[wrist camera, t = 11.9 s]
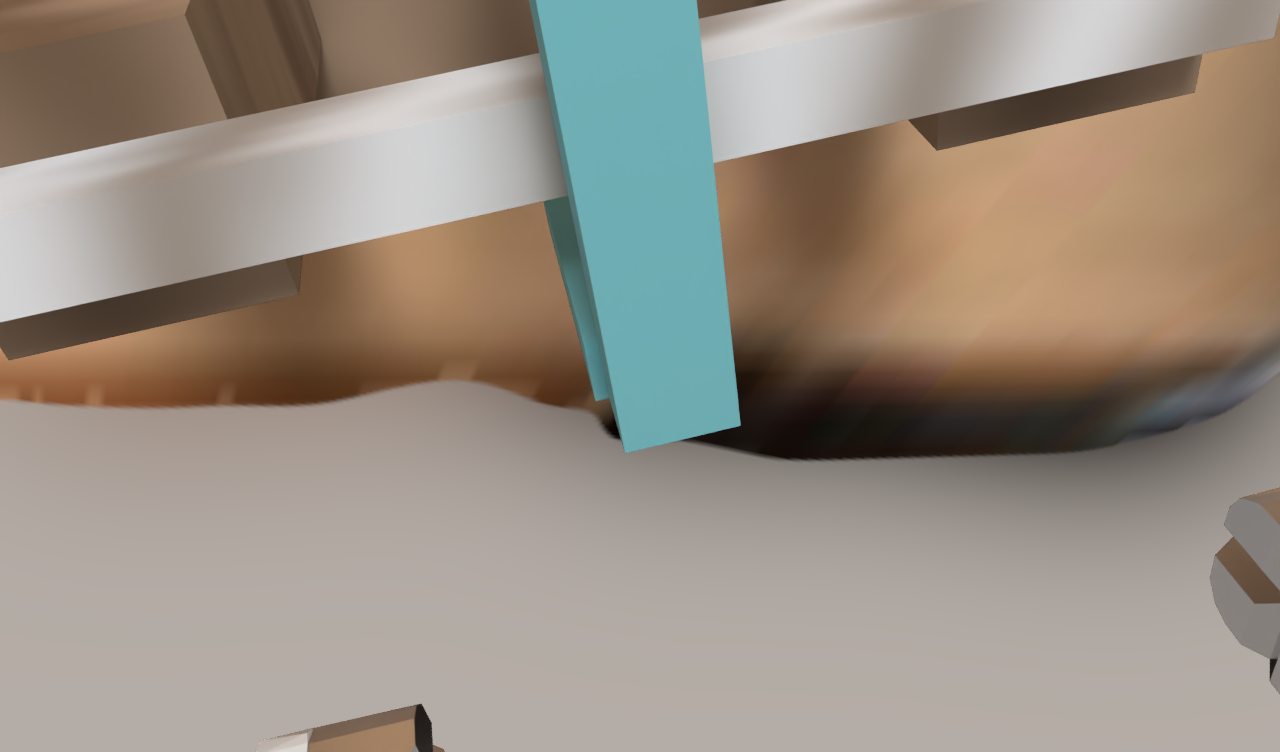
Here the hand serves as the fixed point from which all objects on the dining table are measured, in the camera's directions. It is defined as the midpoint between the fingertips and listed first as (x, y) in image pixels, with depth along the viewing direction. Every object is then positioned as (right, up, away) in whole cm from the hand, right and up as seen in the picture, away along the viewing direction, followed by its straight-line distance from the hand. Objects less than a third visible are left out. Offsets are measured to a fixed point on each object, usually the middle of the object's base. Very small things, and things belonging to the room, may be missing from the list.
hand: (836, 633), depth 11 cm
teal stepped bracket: (-4, +11, +15) cm, 19 cm away
